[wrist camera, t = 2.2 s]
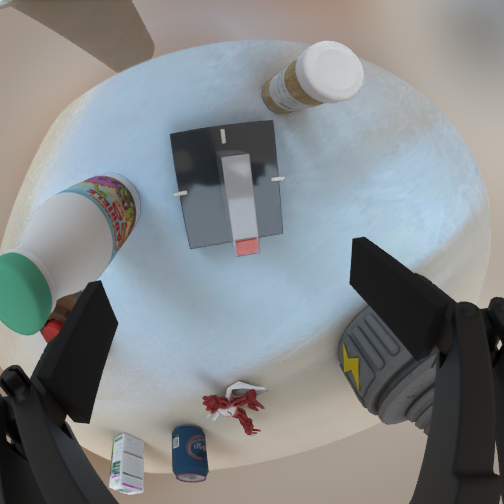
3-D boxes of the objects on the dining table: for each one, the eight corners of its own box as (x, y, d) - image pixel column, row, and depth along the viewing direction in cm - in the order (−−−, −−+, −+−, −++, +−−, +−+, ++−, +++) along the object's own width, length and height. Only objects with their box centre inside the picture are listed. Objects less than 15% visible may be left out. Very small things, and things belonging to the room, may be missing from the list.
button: (43, 320, 28) (38, 328, 26) (63, 318, 28) (58, 326, 26) (55, 342, 29) (51, 350, 28) (76, 341, 30) (72, 350, 28)
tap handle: (215, 151, 25) (221, 157, 16) (234, 149, 25) (250, 154, 16) (225, 220, 28) (235, 258, 19) (242, 217, 28) (261, 254, 19)
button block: (33, 290, 29) (21, 304, 26) (78, 282, 30) (67, 298, 27) (60, 343, 33) (52, 359, 30) (104, 340, 34) (98, 358, 31)
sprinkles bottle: (307, 90, 26) (375, 67, 14) (288, 122, 27) (349, 114, 15) (273, 69, 25) (323, 27, 12) (252, 101, 26) (291, 74, 14)
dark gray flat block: (167, 135, 26) (163, 135, 23) (271, 121, 27) (279, 119, 24) (186, 240, 31) (184, 250, 28) (281, 224, 32) (288, 233, 29)
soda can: (211, 430, 48) (217, 478, 37) (190, 439, 49) (193, 485, 38) (185, 419, 45) (188, 471, 34) (165, 430, 46) (165, 477, 35)
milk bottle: (108, 249, 29) (33, 373, 11) (70, 201, 26) (-44, 285, 8) (155, 211, 29) (94, 325, 11) (115, 157, 26) (-7, 200, 8)
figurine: (283, 396, 46) (292, 423, 40) (231, 419, 47) (236, 446, 41) (240, 356, 39) (247, 389, 33) (181, 384, 40) (181, 416, 34)
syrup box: (123, 432, 45) (118, 486, 32) (145, 441, 47) (143, 493, 34) (113, 437, 46) (107, 488, 33) (133, 446, 48) (131, 496, 35)
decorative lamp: (322, 377, 46) (387, 514, 19) (348, 293, 38) (474, 459, 11) (399, 359, 49) (470, 460, 22) (431, 283, 42) (540, 387, 14)
